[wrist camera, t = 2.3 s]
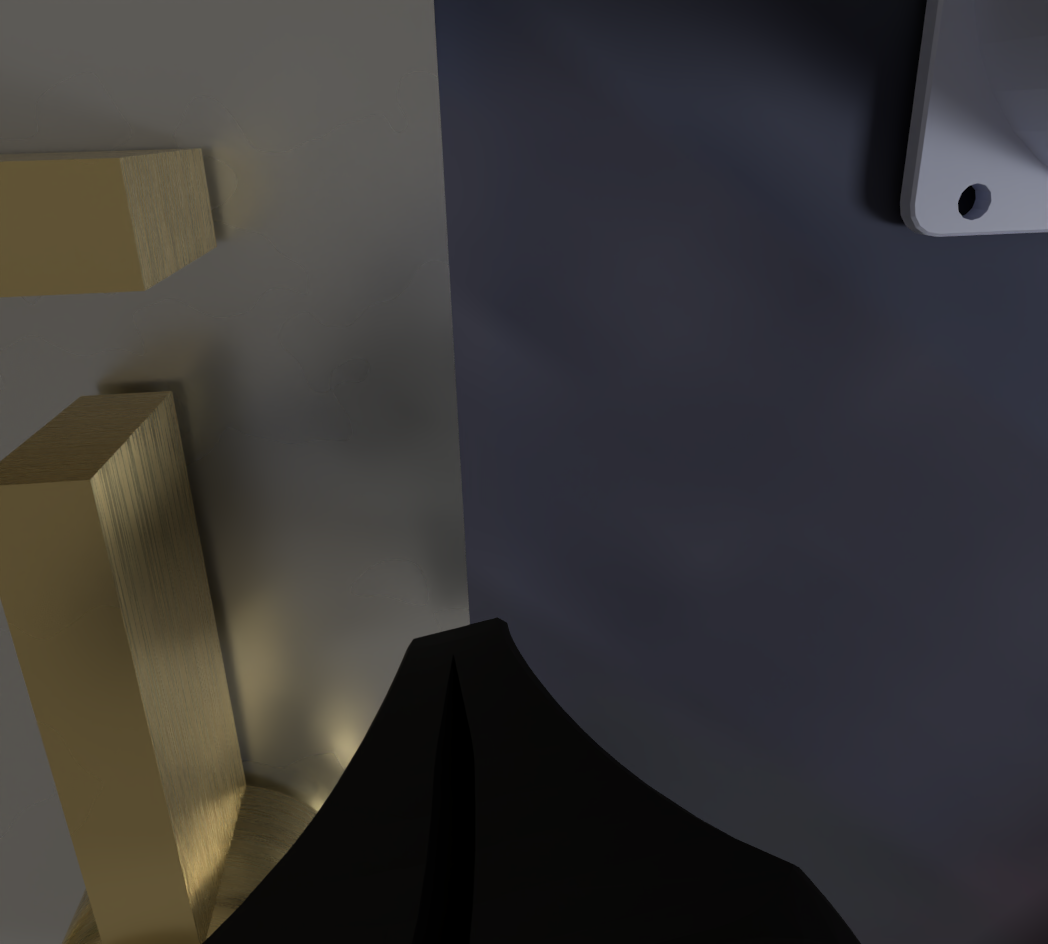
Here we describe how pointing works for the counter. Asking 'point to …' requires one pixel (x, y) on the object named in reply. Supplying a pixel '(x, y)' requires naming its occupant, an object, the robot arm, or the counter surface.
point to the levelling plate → (255, 364)
